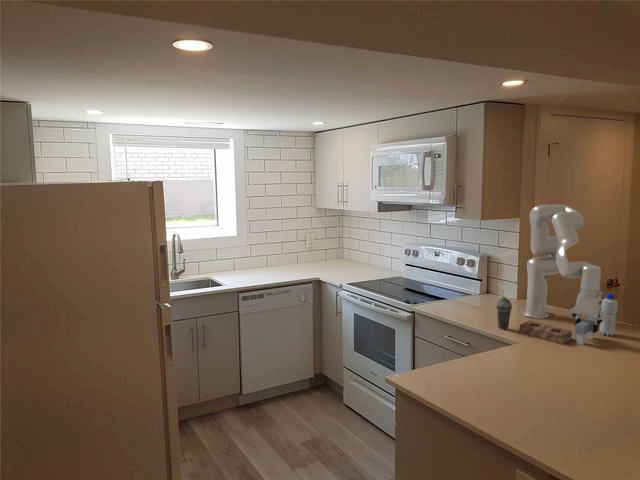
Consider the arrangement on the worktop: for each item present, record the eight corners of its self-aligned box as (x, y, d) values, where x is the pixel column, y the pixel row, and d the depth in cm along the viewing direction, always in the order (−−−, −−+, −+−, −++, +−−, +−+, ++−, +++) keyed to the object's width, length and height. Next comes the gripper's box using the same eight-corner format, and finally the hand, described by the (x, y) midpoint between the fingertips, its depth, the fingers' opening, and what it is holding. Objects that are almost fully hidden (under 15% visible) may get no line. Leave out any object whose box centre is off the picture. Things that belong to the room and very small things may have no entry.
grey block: (588, 336, 224) (589, 317, 222) (596, 338, 221) (597, 319, 219) (574, 343, 215) (576, 324, 214) (582, 345, 212) (584, 326, 211)
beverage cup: (508, 332, 230) (510, 292, 227) (493, 329, 234) (495, 290, 231) (512, 328, 236) (514, 289, 232) (497, 325, 240) (499, 286, 237)
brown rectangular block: (519, 332, 229) (519, 324, 229) (529, 327, 235) (530, 320, 235) (561, 344, 214) (561, 335, 213) (571, 339, 220) (571, 330, 219)
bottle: (599, 335, 224) (602, 294, 221) (598, 331, 230) (601, 291, 227) (615, 337, 221) (619, 296, 218) (614, 333, 227) (618, 292, 224)
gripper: (613, 294, 210) (610, 333, 213) (573, 287, 223) (570, 323, 226) (606, 298, 205) (603, 337, 208) (565, 290, 219) (563, 327, 222)
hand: (586, 329), depth 217 cm, fingers open, 6 cm apart
